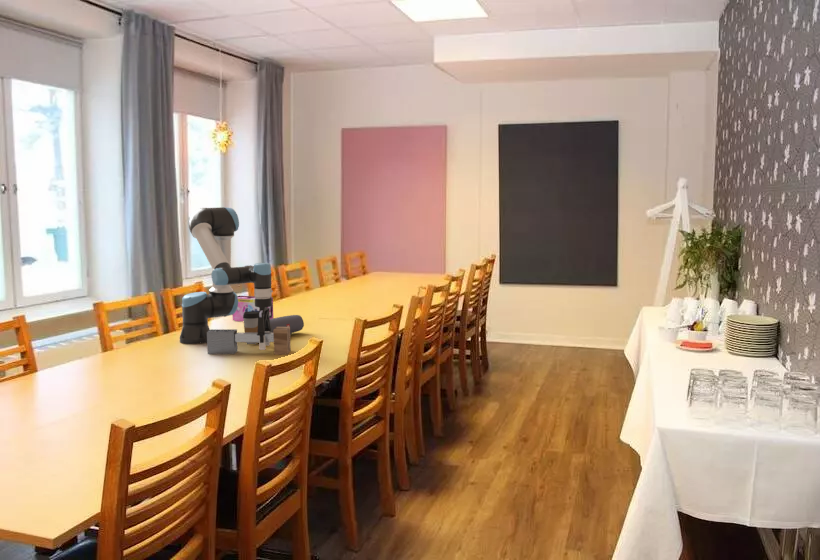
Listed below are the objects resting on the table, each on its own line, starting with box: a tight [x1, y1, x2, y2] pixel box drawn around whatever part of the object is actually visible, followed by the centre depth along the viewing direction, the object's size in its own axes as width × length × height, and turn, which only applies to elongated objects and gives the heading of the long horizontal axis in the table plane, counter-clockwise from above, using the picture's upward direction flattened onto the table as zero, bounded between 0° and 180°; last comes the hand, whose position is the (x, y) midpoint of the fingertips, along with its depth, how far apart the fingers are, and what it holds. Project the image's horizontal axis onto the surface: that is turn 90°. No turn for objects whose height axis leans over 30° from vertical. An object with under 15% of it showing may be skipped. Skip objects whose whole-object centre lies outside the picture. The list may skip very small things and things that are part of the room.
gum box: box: [232, 295, 274, 322], centre depth 407 cm, size 24×8×14 cm, turn 69°
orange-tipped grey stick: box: [234, 332, 274, 343], centre depth 325 cm, size 4×25×4 cm, turn 90°
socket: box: [273, 327, 292, 355], centre depth 325 cm, size 8×6×11 cm
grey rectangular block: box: [206, 328, 239, 355], centre depth 326 cm, size 6×12×10 cm, turn 89°
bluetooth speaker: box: [269, 314, 305, 336], centre depth 362 cm, size 23×9×10 cm, turn 143°
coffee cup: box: [243, 311, 259, 345], centre depth 345 cm, size 8×8×15 cm
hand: (264, 347), depth 326 cm, fingers open, 8 cm apart
